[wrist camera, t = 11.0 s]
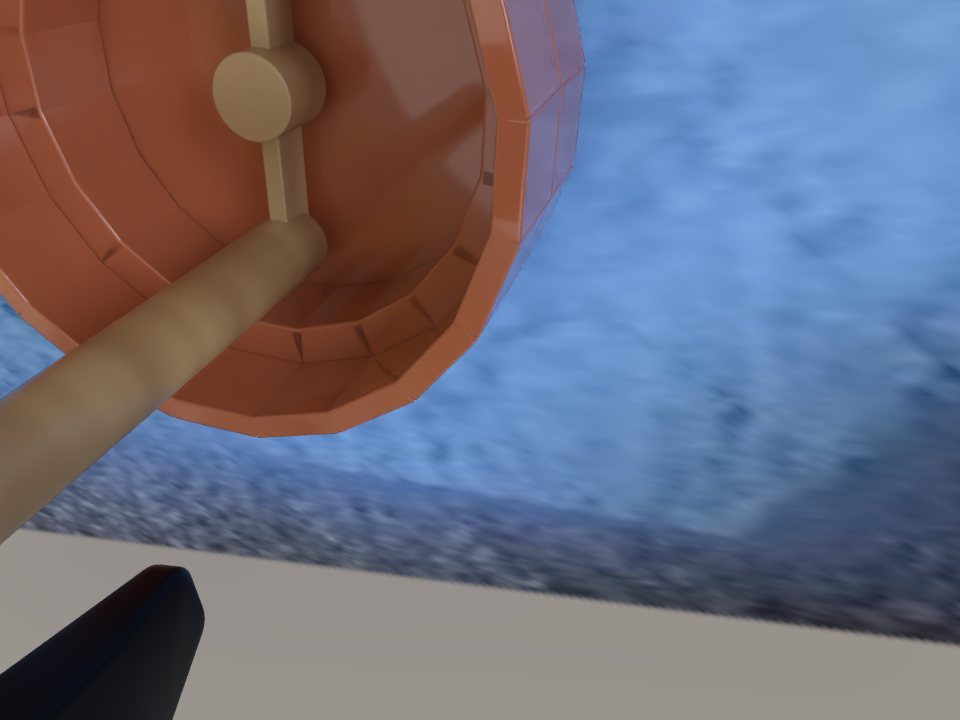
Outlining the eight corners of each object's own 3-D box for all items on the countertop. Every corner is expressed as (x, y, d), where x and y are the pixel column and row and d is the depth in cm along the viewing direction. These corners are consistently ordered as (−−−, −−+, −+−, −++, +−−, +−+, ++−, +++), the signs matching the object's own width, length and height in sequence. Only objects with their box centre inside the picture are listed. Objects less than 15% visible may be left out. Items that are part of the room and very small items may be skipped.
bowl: (722, 48, 17) (709, 113, 12) (376, 404, 25) (283, 531, 20) (207, -467, 15) (-52, -635, 10) (7, 90, 23) (-195, 145, 18)
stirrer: (227, -143, 17) (-1251, -230, 5) (311, -140, 17) (-1070, -227, 4) (273, 261, 22) (-372, 759, 9) (339, 272, 22) (-247, 811, 9)
